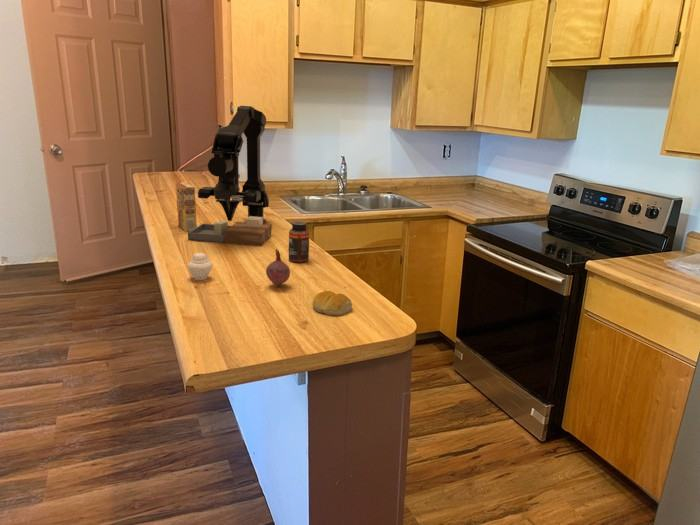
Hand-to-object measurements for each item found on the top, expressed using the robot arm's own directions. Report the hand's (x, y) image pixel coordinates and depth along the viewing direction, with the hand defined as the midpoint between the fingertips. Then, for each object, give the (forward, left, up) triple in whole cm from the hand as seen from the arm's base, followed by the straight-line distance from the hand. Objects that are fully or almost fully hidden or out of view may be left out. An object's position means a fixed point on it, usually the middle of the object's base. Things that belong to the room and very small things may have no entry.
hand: (229, 220), depth 172 cm
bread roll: (+49, +39, -7) cm, 63 cm away
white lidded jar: (+36, +3, -7) cm, 37 cm away
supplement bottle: (+14, +25, -7) cm, 30 cm away
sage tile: (-4, -3, -4) cm, 6 cm away
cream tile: (-7, +6, -3) cm, 10 cm away
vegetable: (+37, +24, -7) cm, 45 cm away
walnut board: (-4, +5, -7) cm, 9 cm away
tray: (-4, -7, -7) cm, 10 cm away
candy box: (-12, -19, -7) cm, 23 cm away
